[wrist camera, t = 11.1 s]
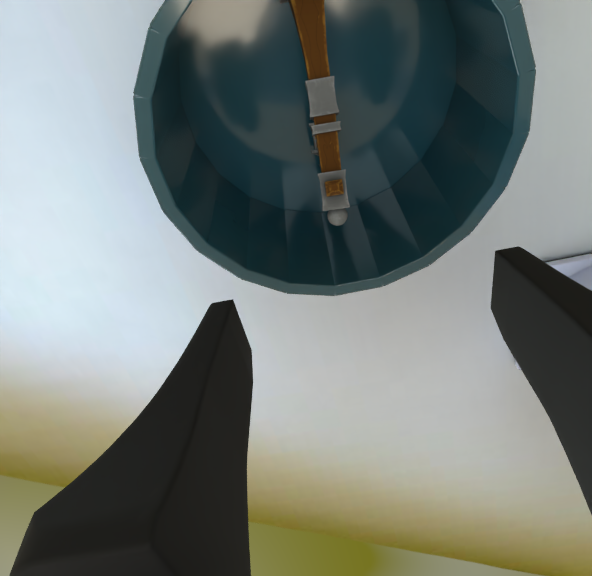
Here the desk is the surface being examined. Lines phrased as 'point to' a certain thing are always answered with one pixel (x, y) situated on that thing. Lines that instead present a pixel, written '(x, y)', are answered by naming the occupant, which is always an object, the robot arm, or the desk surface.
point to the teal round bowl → (352, 137)
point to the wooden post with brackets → (322, 106)
